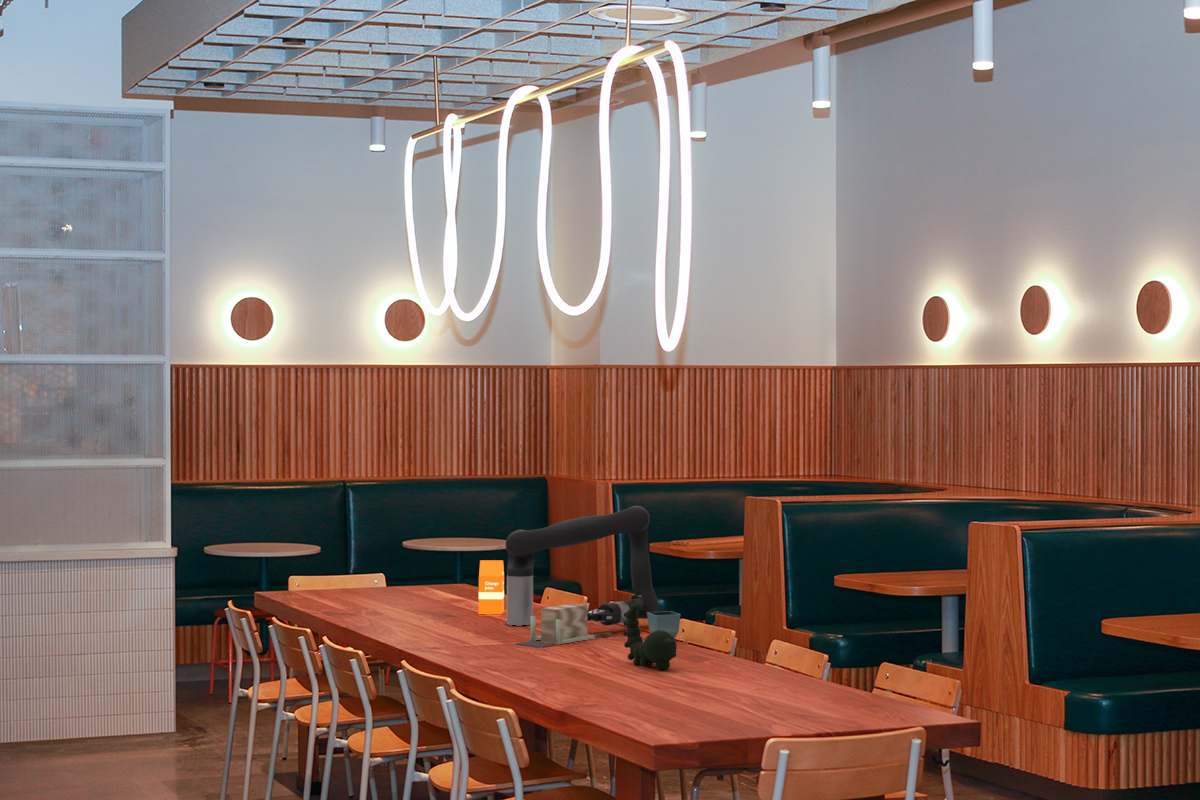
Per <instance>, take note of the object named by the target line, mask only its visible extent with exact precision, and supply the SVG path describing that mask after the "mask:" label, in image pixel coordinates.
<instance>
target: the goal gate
mask: <svg viewBox="0 0 1200 800" xmlns="http://www.w3.org/2000/svg"><path fill="white" fill-rule="evenodd" d="M536 621H537V617H536V616H535V615H533V616H531V625H530V641H536V640H541V635H537V636H536V633H537V631H536V626H537V625H536ZM593 638H595V635H594V634H589V635H588V634H587V636H582V637H576V638H570V639H565V640H561V620H560V619H557V620H556V644H557V645H556V646H560V645H559V644H561V645H562V644H564V643H569V642H574V641H581V640H587V639H593ZM593 640H594V639H593ZM587 641H588V640H587ZM536 642H537V641H536ZM581 642H582V641H581ZM564 645H565V644H564Z"/></svg>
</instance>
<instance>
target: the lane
mask: <svg viewBox="0 0 1200 800" xmlns="http://www.w3.org/2000/svg"><path fill="white" fill-rule="evenodd" d="M593 635H595V638H598V639H600V638H599V637H604V638H606V637H605V636H610V637H613V631H612V632H611V631H607V632H600V633H595V634H593Z"/></svg>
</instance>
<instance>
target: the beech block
mask: <svg viewBox="0 0 1200 800" xmlns="http://www.w3.org/2000/svg"><path fill="white" fill-rule="evenodd" d="M587 611H588V605H587V604H580V603H569V604H561V605H555V606H548V607H541V609H540V636H541V641H540V642H543V643H544V642H548V643H550V644H551V643H556V620H557V619H560V620H561V640H565V639H570V638H576V637H582V636H588V621H587Z"/></svg>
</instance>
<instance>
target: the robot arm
mask: <svg viewBox="0 0 1200 800" xmlns="http://www.w3.org/2000/svg"><path fill="white" fill-rule="evenodd" d="M650 521H651V517H650V513H649V512H648V509H646V508H645V507H644V506H642V505H632V506H630V507H628V508H625V509H623V510H620V511H617V512H612V513H609V514H603V515H602V514H600V515H598V514H597V515H590V516H589V515H586V516H581V517H575V518H570V519H566V520H563V521H560V522H557V523H554V524H551V525H549V526H546V527H543V528H537V529H530V530H525V529H517V530H515V531H513V532H511V533H510V534H509V535H508V536H507V538H506V540H505V549H506V551H507V554H508V555H507V558H508V559H507V567H506V625H507V624H508V625H507V626H512V625H516V626H517V627H523V626H522V625H527V626H531V616H534V567H535V566H534V565H535V553H536V552H539V551H543V550H546V549H547V550H548V549H556V548H566V547H571V546H572V547H573V546H578V545H581V544H582V545H583V544H587V543H590V542H594V541H598V540H601V539H603V538H607V537H610V536H613V535H614V536H615V535H623V534H628V537H629V542H630V543H629V544H630V575H631V577H630V578H631V587H632V590H633V592H636V593H638V594H640V596H641V597H642V598H633V599H629V600H624V601H613V602H611V601H610V602H605V603H602V604H600V606H599V607H598V608H595V609H593V610H589V611H588V610H587V622H594V623H595V622H596V623H600V624H602V625H603V626H607V627H609V626H614V625H618V624H619V625H620V624H623V622H624V621H626V620H627V618H626V617H625V616H624V613H626V612H627V611H628V610H630V609H631V606H632V605H633V604H634V603H640V604H642V606H643V609H644V611H643V612H642V611H641V610H639V611H638V612H637V619H638V620H639V619H641V620H648V617H647V612H660V611H659V610H660V604H659V600H658V598H657V595H656V592H655V589H654V587H653V579H652V577H653V576H652V568H651V567H652V566H651V561H650V560H651V559H650V553H649V541H648V540H649V537H648V536H649V525H650ZM516 626H515V627H516Z"/></svg>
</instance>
